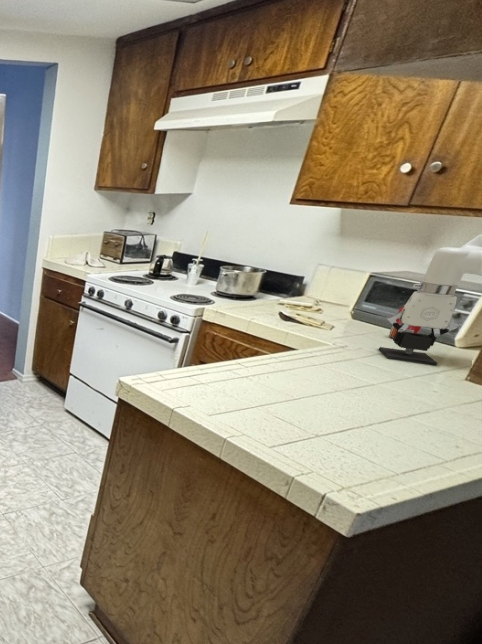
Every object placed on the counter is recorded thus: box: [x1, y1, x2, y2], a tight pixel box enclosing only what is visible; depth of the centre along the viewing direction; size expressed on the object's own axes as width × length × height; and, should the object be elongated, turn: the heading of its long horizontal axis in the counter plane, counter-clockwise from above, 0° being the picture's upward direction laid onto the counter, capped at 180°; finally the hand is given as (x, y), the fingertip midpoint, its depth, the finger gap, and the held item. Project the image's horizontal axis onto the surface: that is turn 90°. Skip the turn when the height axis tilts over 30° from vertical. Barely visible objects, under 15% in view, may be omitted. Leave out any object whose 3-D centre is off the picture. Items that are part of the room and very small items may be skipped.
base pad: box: [378, 346, 438, 366], centre depth 149 cm, size 11×11×6 cm
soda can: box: [389, 304, 422, 339], centre depth 167 cm, size 7×7×12 cm
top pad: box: [397, 332, 432, 352], centre depth 148 cm, size 6×6×4 cm
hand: (411, 345), depth 149 cm, fingers closed on top pad, 6 cm apart
